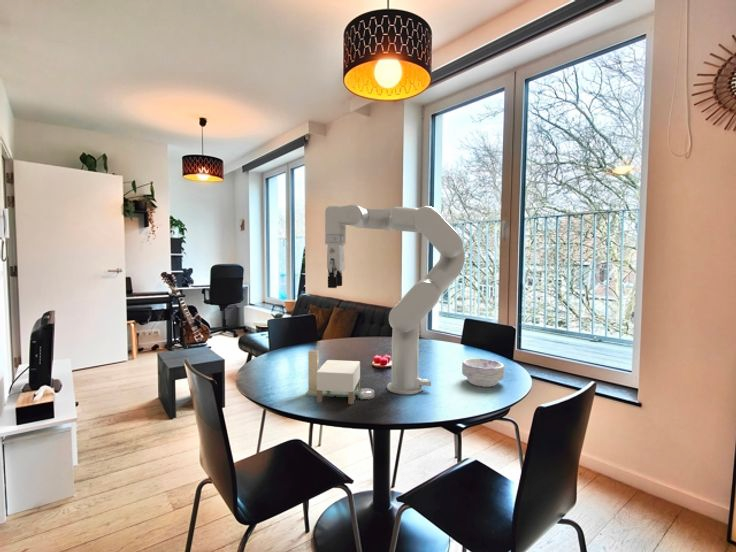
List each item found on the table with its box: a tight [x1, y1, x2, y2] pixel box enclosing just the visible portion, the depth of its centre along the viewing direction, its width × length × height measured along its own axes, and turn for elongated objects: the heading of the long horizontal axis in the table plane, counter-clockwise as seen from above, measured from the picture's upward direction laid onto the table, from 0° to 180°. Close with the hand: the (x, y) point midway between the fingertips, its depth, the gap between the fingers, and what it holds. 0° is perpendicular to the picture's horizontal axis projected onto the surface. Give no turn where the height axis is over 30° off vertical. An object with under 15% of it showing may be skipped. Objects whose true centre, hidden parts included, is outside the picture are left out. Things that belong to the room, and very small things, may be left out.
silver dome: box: [356, 387, 375, 400], centre depth 132 cm, size 6×6×2 cm
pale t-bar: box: [305, 349, 358, 400], centre depth 133 cm, size 17×7×15 cm, turn 83°
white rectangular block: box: [316, 359, 361, 405], centre depth 132 cm, size 12×15×10 cm
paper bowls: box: [461, 357, 505, 388], centre depth 146 cm, size 15×15×8 cm
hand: (335, 286), depth 143 cm, fingers open, 9 cm apart
